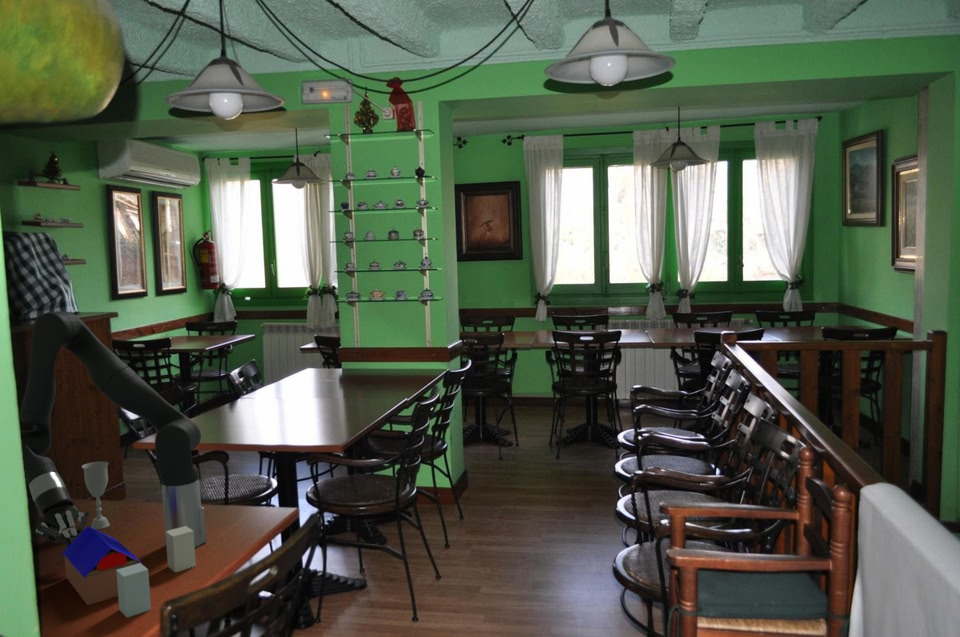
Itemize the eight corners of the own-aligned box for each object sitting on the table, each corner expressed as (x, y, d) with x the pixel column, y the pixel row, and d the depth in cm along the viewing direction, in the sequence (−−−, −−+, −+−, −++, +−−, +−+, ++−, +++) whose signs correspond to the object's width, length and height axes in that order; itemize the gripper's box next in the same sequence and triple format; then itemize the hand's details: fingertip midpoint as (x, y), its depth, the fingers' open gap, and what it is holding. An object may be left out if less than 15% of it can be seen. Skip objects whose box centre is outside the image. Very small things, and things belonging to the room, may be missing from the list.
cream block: (188, 560, 189) (185, 525, 188) (195, 566, 185) (193, 530, 184) (168, 566, 185) (165, 531, 185) (175, 572, 182) (172, 536, 181)
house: (117, 564, 188) (114, 519, 187) (143, 589, 173) (139, 540, 172) (64, 579, 180) (60, 532, 179) (86, 607, 165) (82, 555, 164)
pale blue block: (143, 602, 166) (140, 562, 166) (151, 609, 163) (148, 569, 162) (119, 609, 163) (116, 569, 162) (126, 617, 159) (123, 576, 158)
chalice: (118, 524, 217) (113, 463, 216) (95, 532, 211) (90, 469, 210) (104, 520, 221) (99, 460, 219) (81, 527, 215) (76, 466, 214)
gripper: (25, 493, 184) (51, 553, 177) (81, 479, 194) (107, 535, 187) (18, 510, 187) (43, 569, 181) (73, 496, 198) (99, 551, 191)
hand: (76, 552), depth 184 cm, fingers closed
